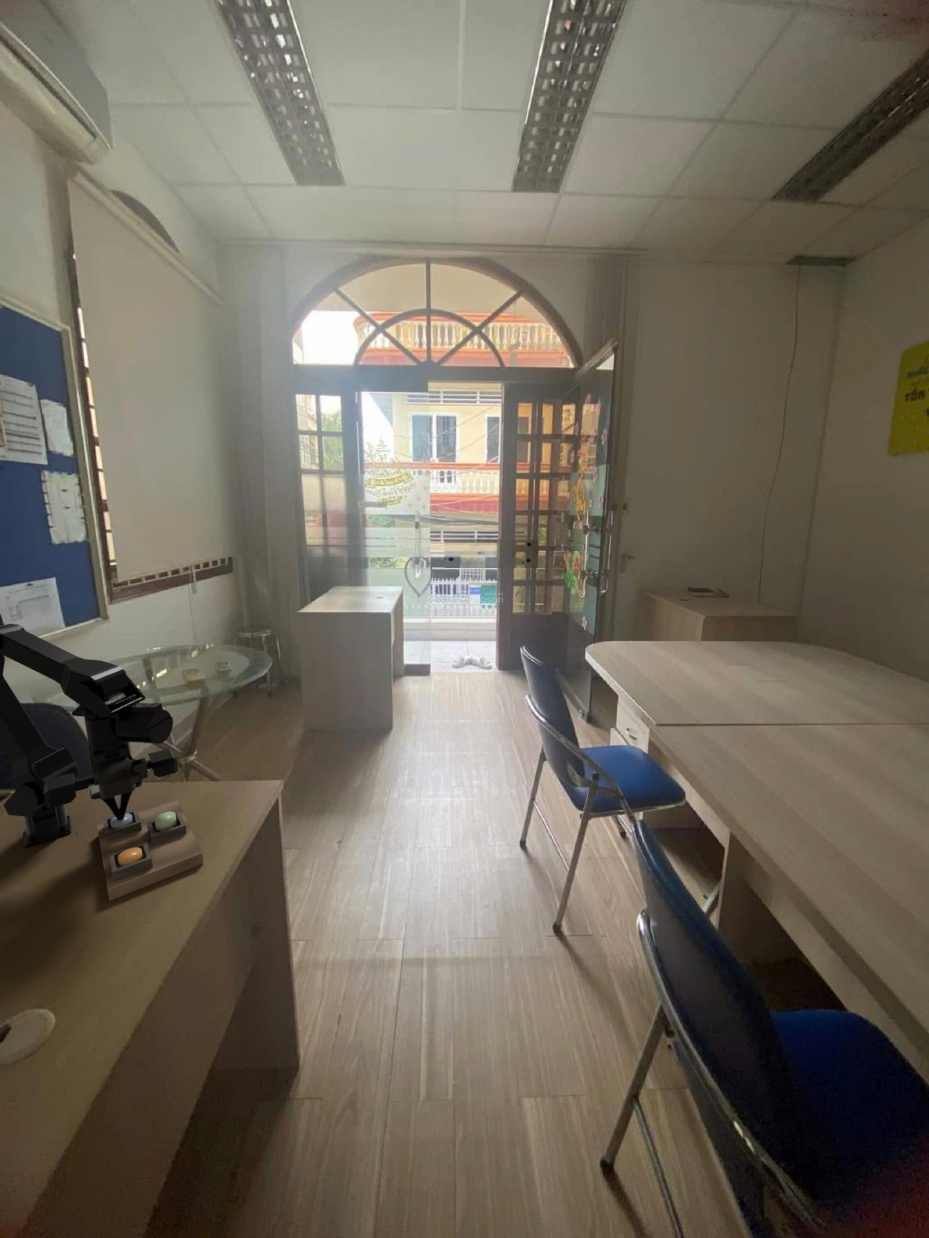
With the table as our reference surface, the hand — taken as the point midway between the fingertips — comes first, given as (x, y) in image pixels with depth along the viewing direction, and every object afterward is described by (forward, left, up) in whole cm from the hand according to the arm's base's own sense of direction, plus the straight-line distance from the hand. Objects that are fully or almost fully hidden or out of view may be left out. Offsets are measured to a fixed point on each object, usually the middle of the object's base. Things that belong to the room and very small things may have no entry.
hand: (120, 818), depth 88 cm
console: (+6, +3, -4) cm, 8 cm away
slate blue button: (0, 0, -2) cm, 2 cm away
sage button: (+6, +6, -1) cm, 9 cm away
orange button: (+12, 0, -2) cm, 12 cm away
